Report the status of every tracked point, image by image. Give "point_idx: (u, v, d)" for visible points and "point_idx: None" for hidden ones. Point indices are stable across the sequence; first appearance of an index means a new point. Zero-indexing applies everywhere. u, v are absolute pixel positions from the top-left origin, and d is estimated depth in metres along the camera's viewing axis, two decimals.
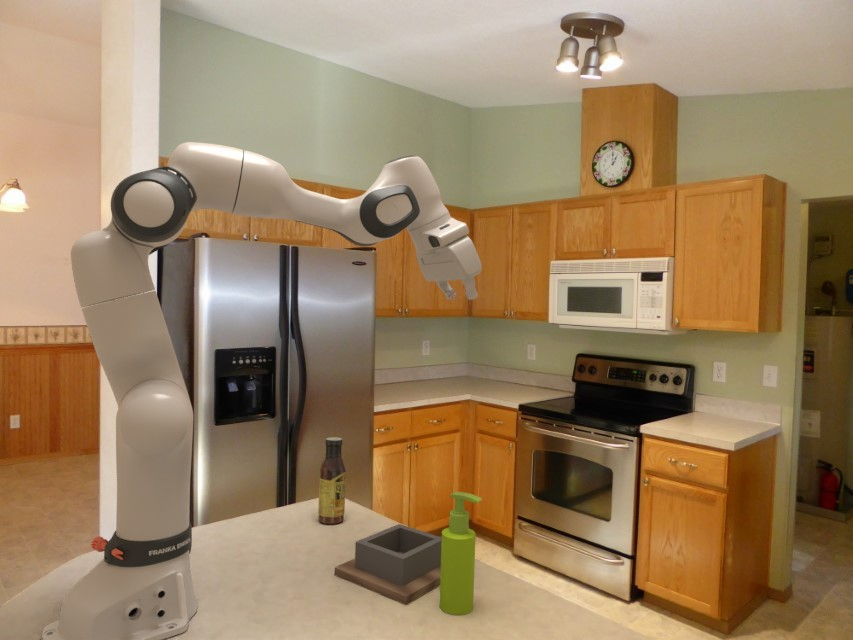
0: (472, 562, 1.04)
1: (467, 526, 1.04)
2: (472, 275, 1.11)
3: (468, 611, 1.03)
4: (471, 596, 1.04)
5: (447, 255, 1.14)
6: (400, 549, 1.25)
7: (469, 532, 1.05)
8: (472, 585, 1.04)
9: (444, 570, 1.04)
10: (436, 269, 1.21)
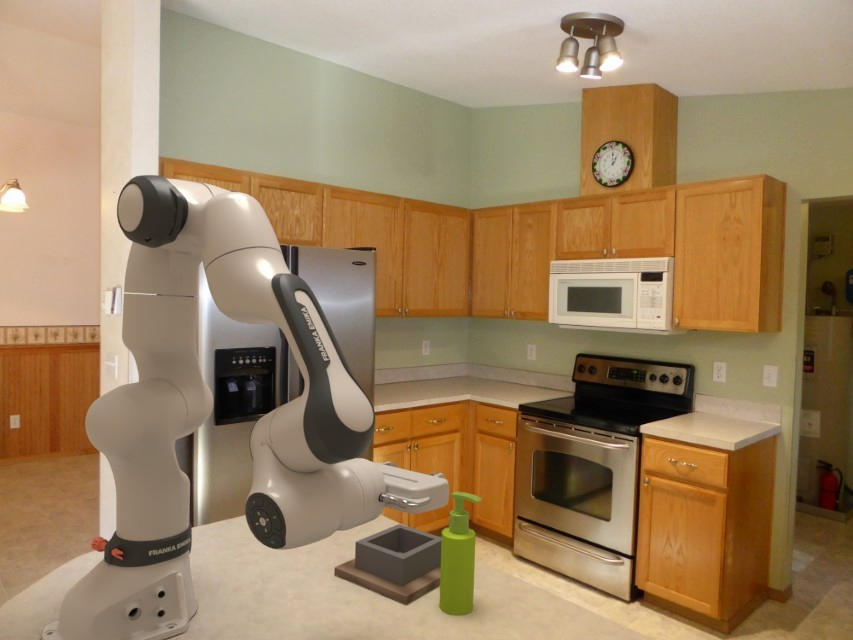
0: (472, 562, 1.04)
1: (467, 526, 1.04)
2: None
3: (468, 611, 1.03)
4: (471, 596, 1.04)
5: None
6: (400, 549, 1.25)
7: (469, 532, 1.05)
8: (472, 585, 1.04)
9: (444, 570, 1.04)
10: (396, 472, 0.88)
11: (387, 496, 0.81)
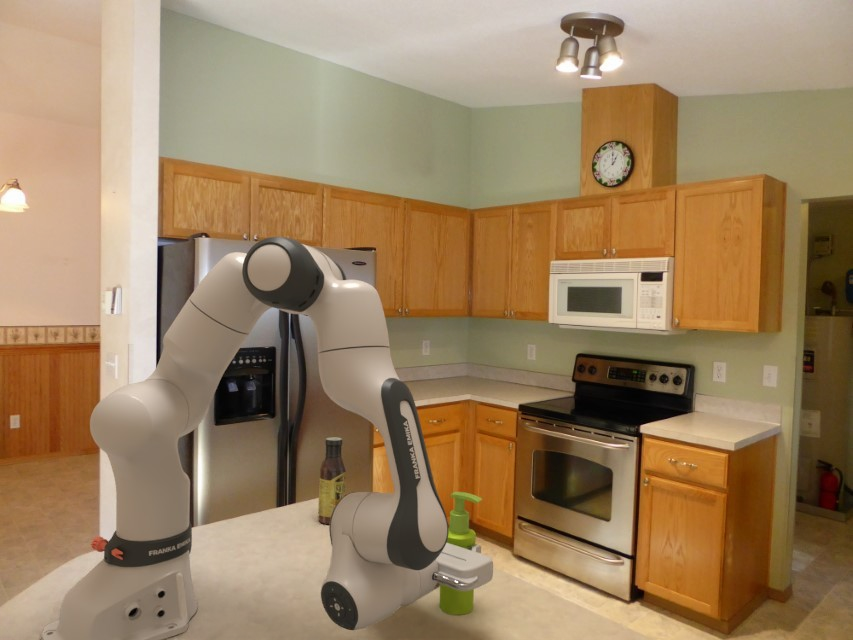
0: None
1: (467, 526, 1.04)
2: None
3: (468, 611, 1.03)
4: (471, 596, 1.04)
5: None
6: None
7: (469, 532, 1.05)
8: None
9: None
10: (444, 548, 0.99)
11: (440, 575, 0.92)
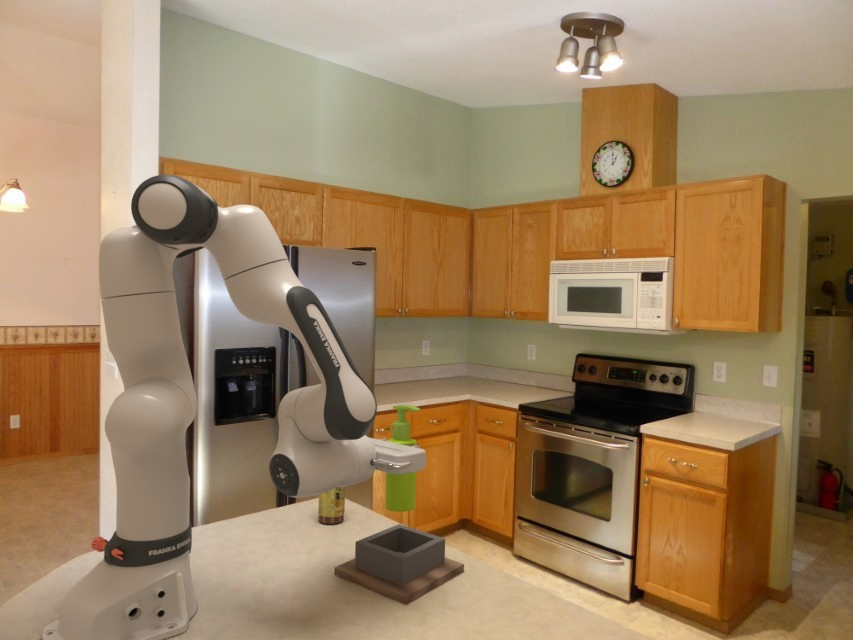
0: None
1: (408, 434, 1.18)
2: None
3: (409, 509, 1.16)
4: (412, 496, 1.17)
5: None
6: (400, 549, 1.25)
7: (410, 439, 1.18)
8: (413, 486, 1.17)
9: None
10: (385, 444, 1.12)
11: (377, 461, 1.05)
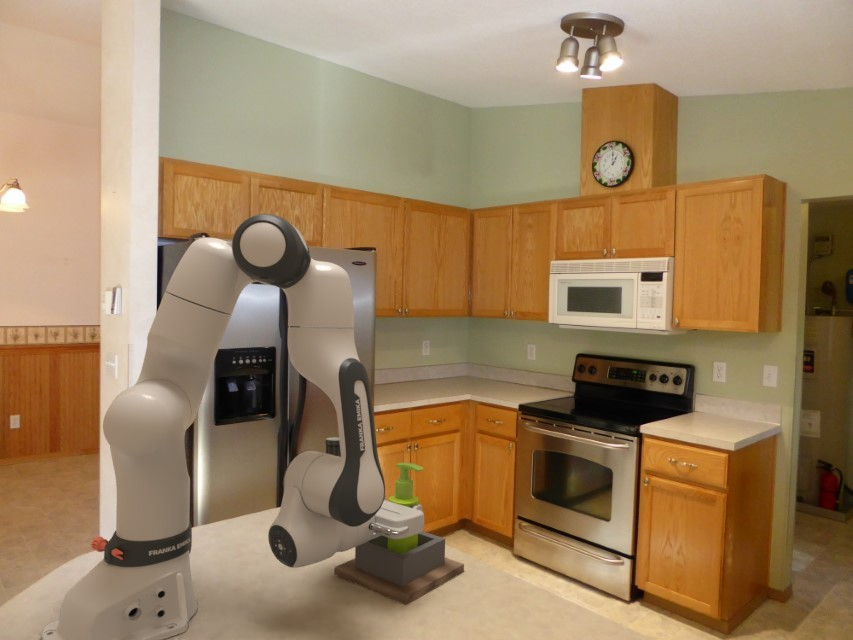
0: None
1: (411, 492, 1.17)
2: None
3: None
4: None
5: None
6: None
7: (413, 498, 1.18)
8: (415, 545, 1.17)
9: None
10: (383, 504, 1.12)
11: (375, 525, 1.05)
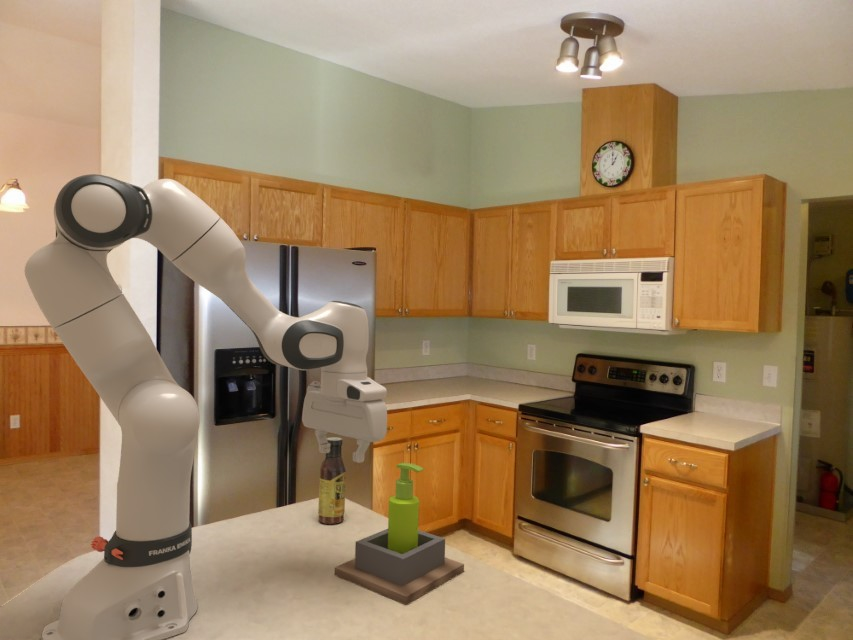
0: (415, 525, 1.16)
1: (411, 493, 1.17)
2: (376, 440, 1.10)
3: None
4: None
5: (356, 410, 1.12)
6: None
7: (413, 498, 1.17)
8: (415, 545, 1.17)
9: (390, 531, 1.16)
10: (329, 419, 1.16)
11: None
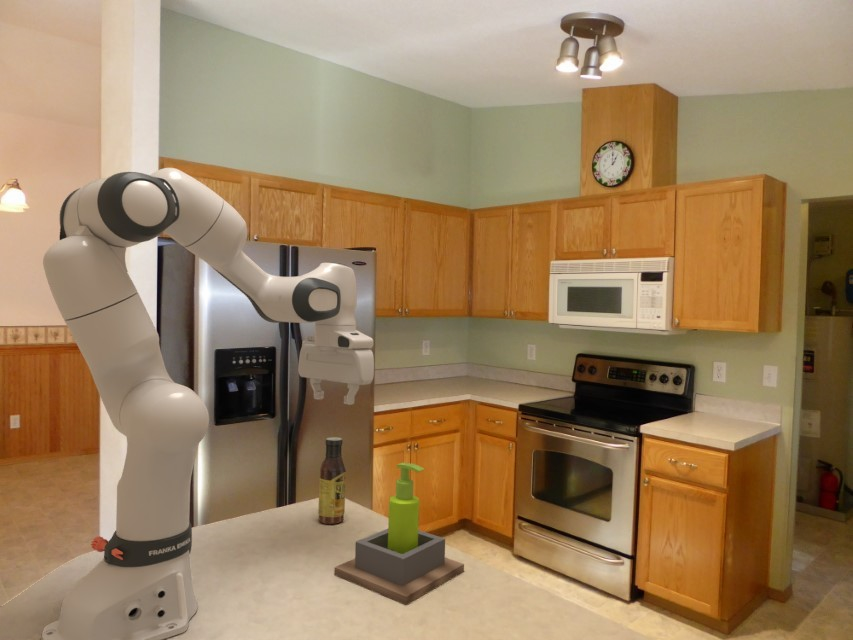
0: (415, 525, 1.16)
1: (411, 493, 1.17)
2: (364, 383, 1.25)
3: None
4: None
5: (346, 358, 1.27)
6: None
7: (413, 498, 1.17)
8: (415, 545, 1.17)
9: (390, 531, 1.16)
10: (322, 367, 1.31)
11: None
